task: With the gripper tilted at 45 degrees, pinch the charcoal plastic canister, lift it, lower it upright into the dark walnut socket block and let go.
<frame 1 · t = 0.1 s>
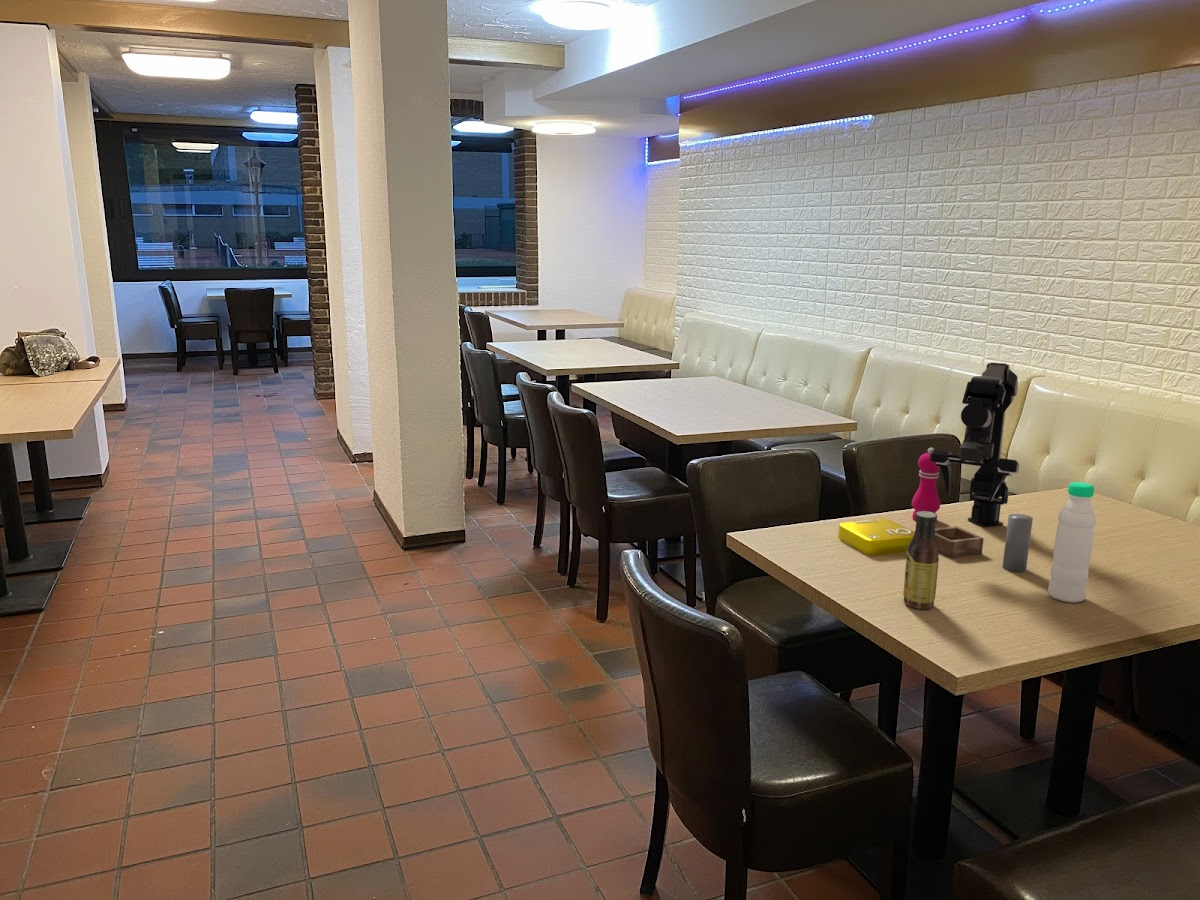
hand: (968, 498, 208), 15 cm above the table, tool pointing down, fingers open, 9 cm apart
element tile: (877, 546, 223), on the table
sauce bottle: (917, 605, 186), on the table
walnut socket: (952, 549, 220), on the table
water bottle: (1065, 598, 191), on the table
charcoal canister: (1014, 568, 207), on the table
pepper mill: (924, 520, 243), on the table
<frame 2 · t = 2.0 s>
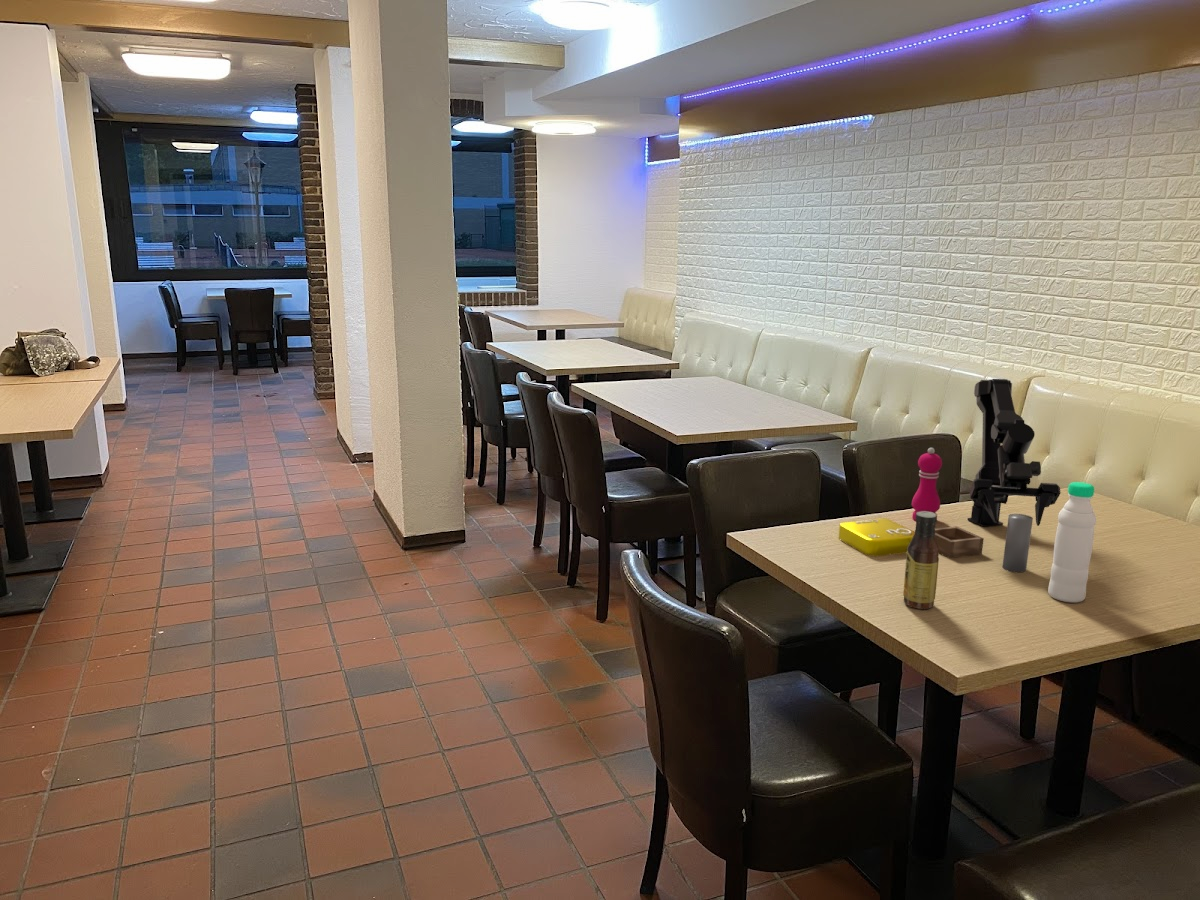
hand: (1017, 523, 207), 10 cm above the table, tool tilted 45°, fingers open, 9 cm apart
nothing on the table moved.
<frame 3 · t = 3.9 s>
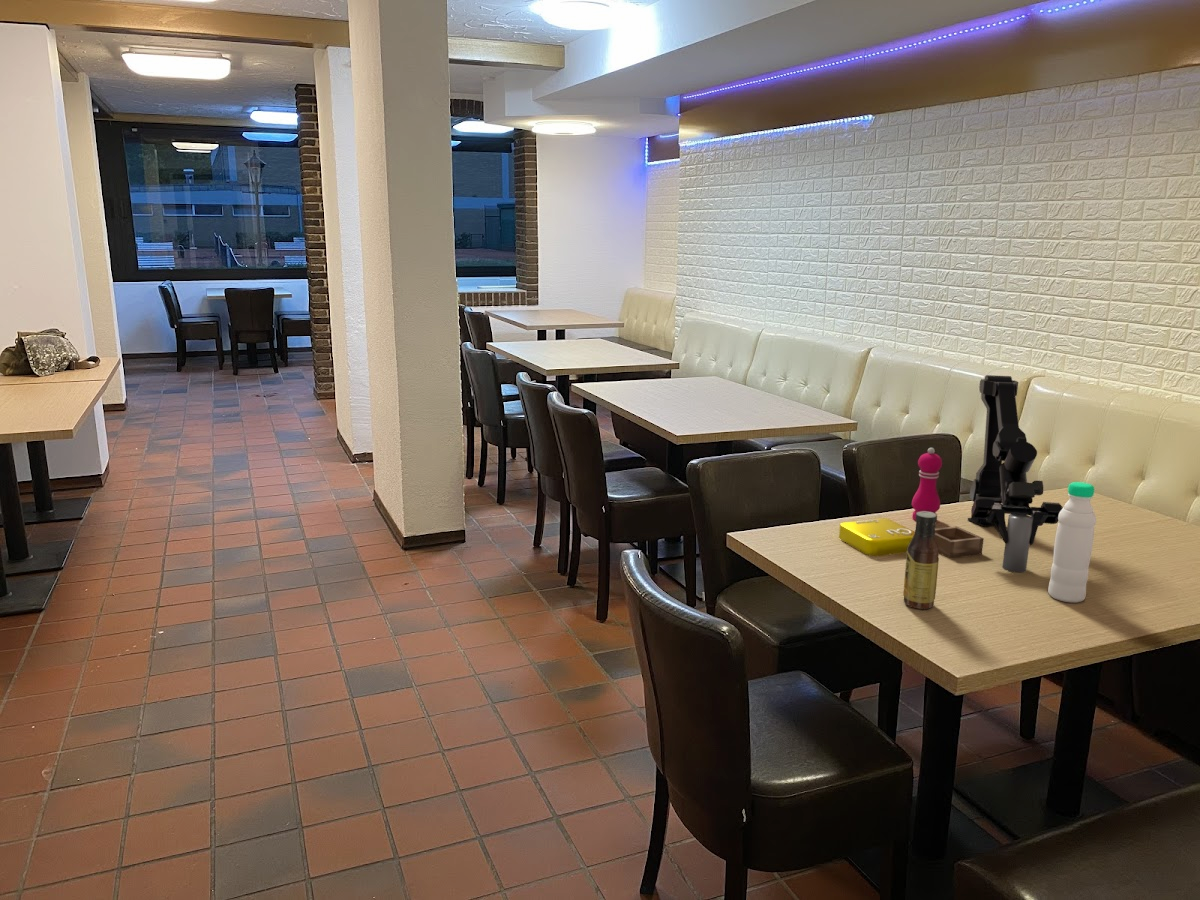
hand: (1018, 543, 205), 7 cm above the table, tool tilted 45°, fingers closed on charcoal canister, 5 cm apart
charcoal canister: (1014, 568, 207), on the table, touching gripper
everything else where it was.
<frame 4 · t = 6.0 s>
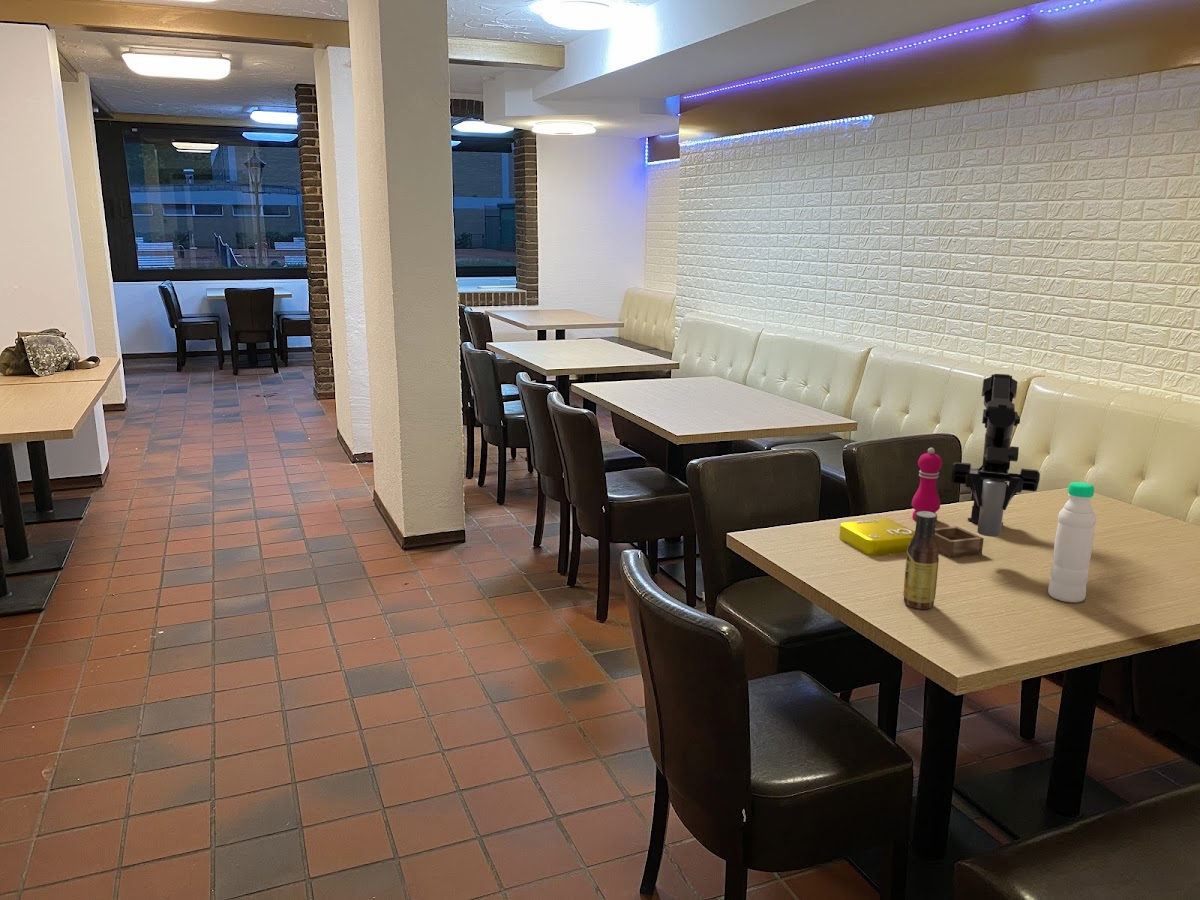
hand: (991, 507, 208), 13 cm above the table, tool tilted 45°, fingers closed on charcoal canister, 5 cm apart
charcoal canister: (988, 533, 211), point 7 cm above the table, touching gripper
everything else where it was.
when the fingers open (9 cm above the table, at t = 8.3 s): charcoal canister drops 1 cm, resting on walnut socket.
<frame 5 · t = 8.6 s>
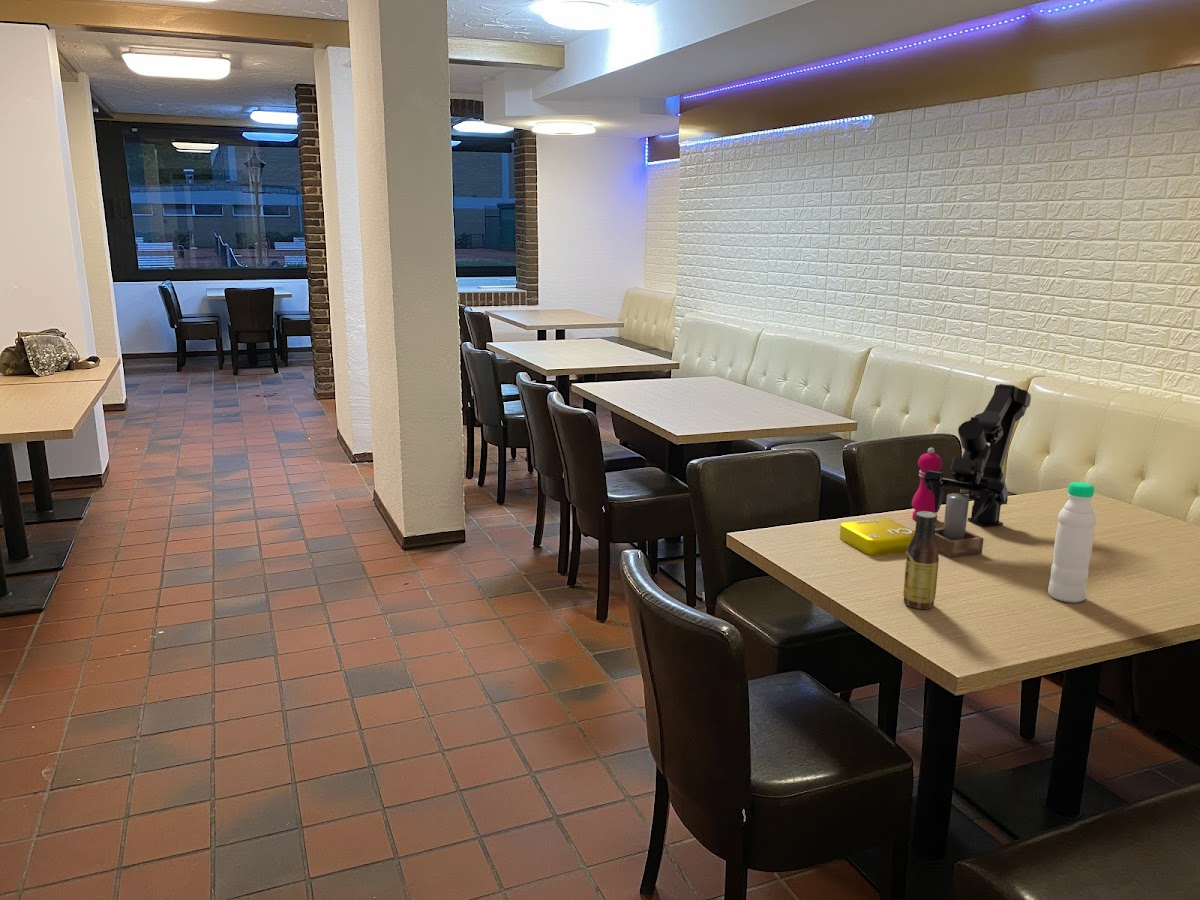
hand: (954, 515, 217), 9 cm above the table, tool tilted 45°, fingers open, 8 cm apart
charcoal canister: (952, 545, 220), point 1 cm above the table, touching walnut socket
everything else where it was.
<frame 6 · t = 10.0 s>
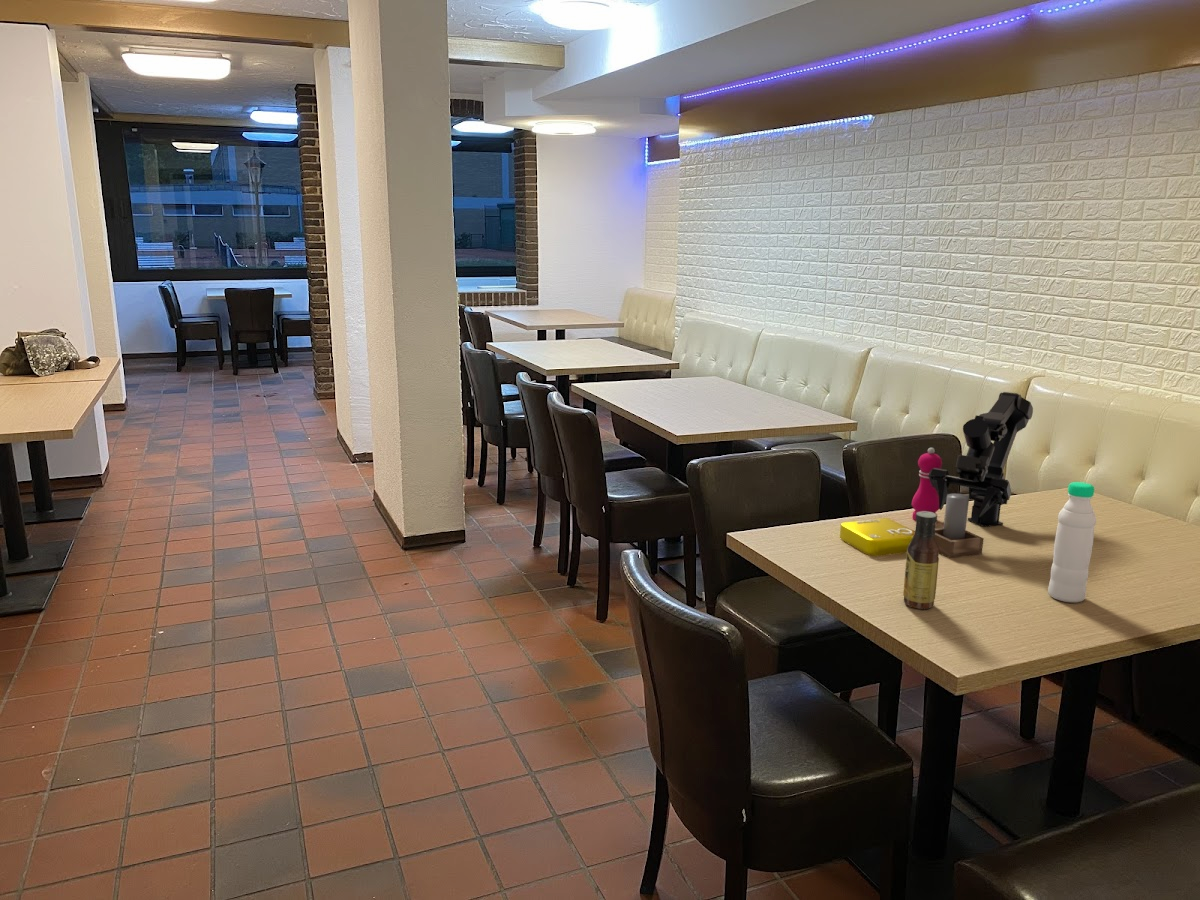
hand: (959, 512, 220), 9 cm above the table, tool tilted 45°, fingers open, 9 cm apart
nothing on the table moved.
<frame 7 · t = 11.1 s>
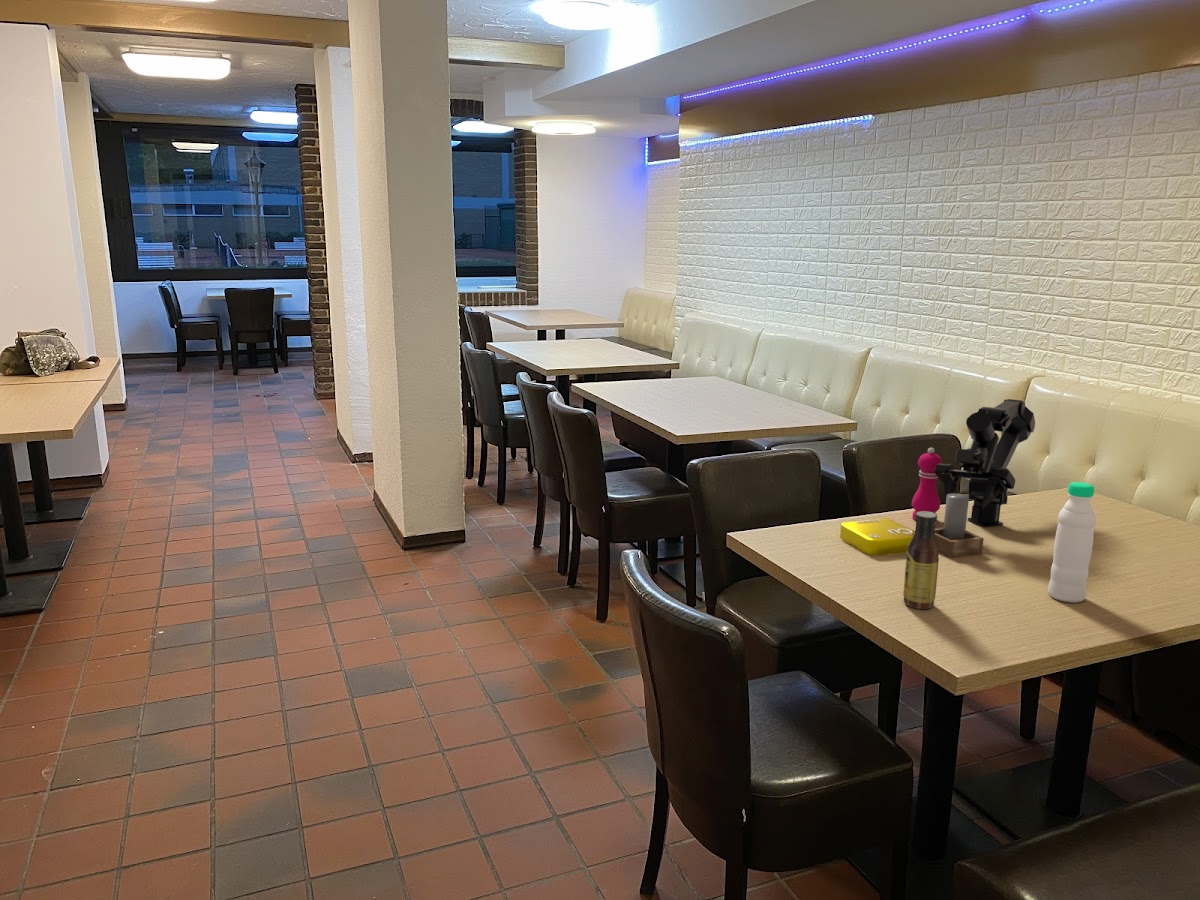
hand: (964, 505, 223), 9 cm above the table, tool tilted 40°, fingers open, 9 cm apart
nothing on the table moved.
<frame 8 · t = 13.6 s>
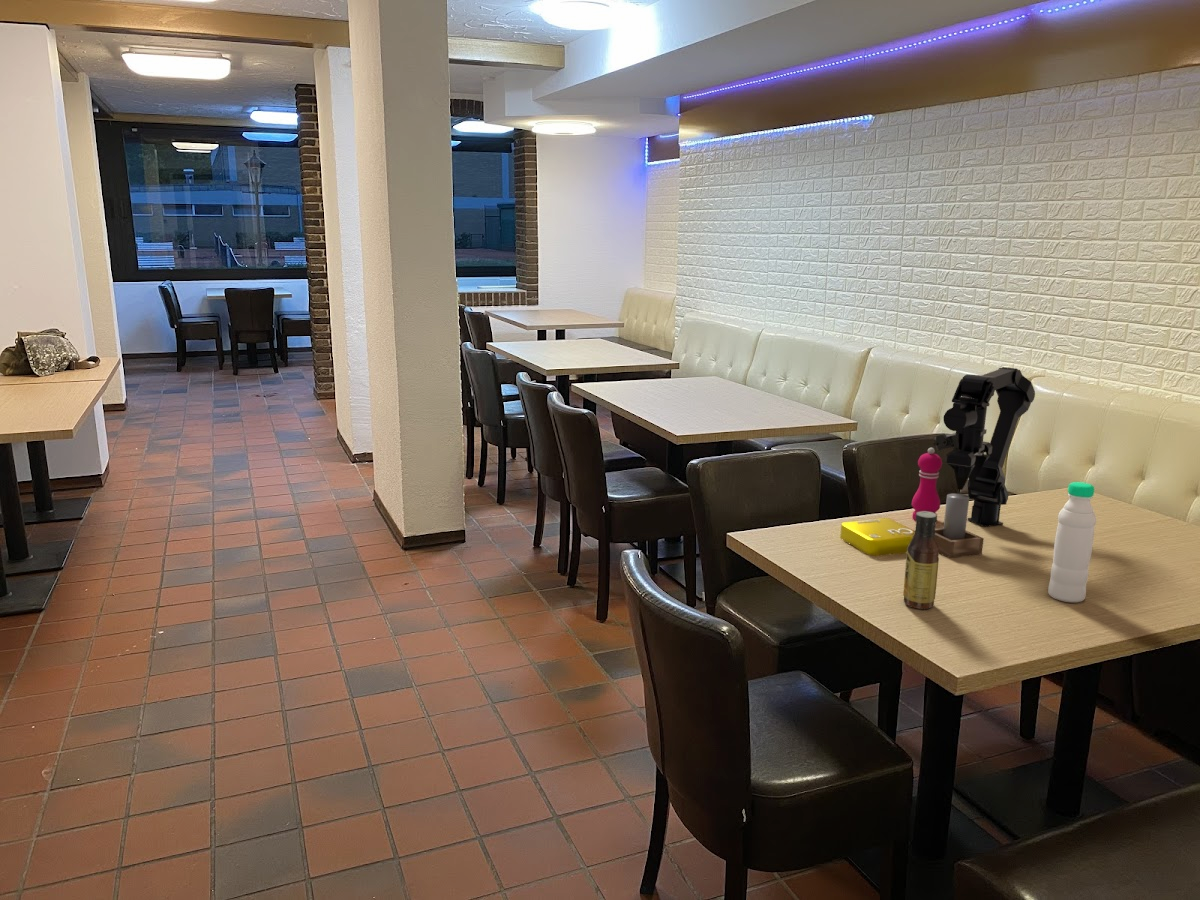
hand: (965, 485, 228), 13 cm above the table, tool pointing down, fingers open, 9 cm apart
nothing on the table moved.
at the end: charcoal canister 0.0 cm off-centre on the walnut socket, point 1.0 cm above the walnut socket's base; charcoal canister tilted 0°; the gripper is holding nothing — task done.
